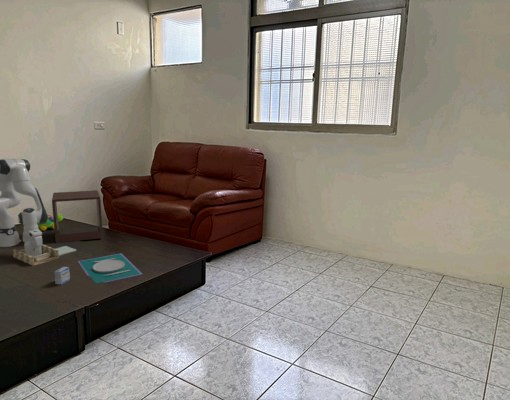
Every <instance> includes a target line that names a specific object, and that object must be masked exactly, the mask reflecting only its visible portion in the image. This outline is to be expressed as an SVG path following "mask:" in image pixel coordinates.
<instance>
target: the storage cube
mask: <svg viewBox="0 0 510 400" xmlns="http://www.w3.org/2000/svg"><path fill="white" fill-rule="evenodd" d="M90 200H96V216H97V226H94V227H93V226H91V227H82V228H71V229H61V230H60V227H59V226H60V225H59V222H58V215H57V214H58V204H57V203H58V202H59V203H60V202H61V203H62V202H73V201H74V202H75V201H90ZM51 206H52V215H53V216H52V217H53V219H54V229H53V230H54V238H55V243H59V244H60V243H67V242H68V243H69V242H76V241H77V242H78V241H85V240H87V241H88V240H96V239H103V237H104V235H103V219H102V205H101V196H100V193H99V191H98V190H97V189H95V190H83V191H82V190H80V191H63V192H62V191H60V192H53V193H52V199H51Z"/></svg>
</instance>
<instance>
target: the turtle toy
mask: <svg viewBox="0 0 510 400" xmlns="http://www.w3.org/2000/svg"><path fill="white" fill-rule="evenodd" d="M57 215H58V223H59V222H62V221H63V219H64V217H63V214H60V213H57ZM37 225H38V229H39V230H40V231H43V232H44V231H46V230H47V229H49V228H52V229H53V230H55V229H54V219H53V216H51V215H50V214H48V219H47V220H46V221H45V222H44V223H37Z"/></svg>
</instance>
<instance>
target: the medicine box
mask: <svg viewBox="0 0 510 400" xmlns="http://www.w3.org/2000/svg"><path fill="white" fill-rule="evenodd" d="M53 272H54V282H55V283H54V284H55V285H60V284H61V286H62V285H64V284H65V283H67V282H69V281H71V273H70V267H69V266H62V267H60V268H58V269H57V270H54V271H53Z"/></svg>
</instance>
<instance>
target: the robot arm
mask: <svg viewBox="0 0 510 400" xmlns="http://www.w3.org/2000/svg"><path fill="white" fill-rule="evenodd" d="M30 169H31V164H30V162H29V160H27V159H23V158H7V159H6V158H5V159H3V158H1V159H0V192H1V194H0V248H8V247H13V246H16V245H17V246H18V245H19V244H20V243H21V242H22V241H23V242H24V243H25V242H27V241H30V243H31V245H33V246H34V251H37V248H38V247H39V246H42V244H43V236H42V235H43V232H42V230H41V229H40V228H38V225H37V223H44V222H45V221H46V220H47V219H48V215H49V214H48V212H47V210H46V208H45V206H44V203H43V201H42V197H41V194H40V192H39V191H38V190H39V189H37V187H34V186H33V184H32V181H31V177H30V174H29V171H30ZM17 193H18V194H20V195H24V196H29V197H31V198H32V199H34V202H35V205H36V207H37V209H35V208H33V207H26V208H24V209H23V210H22V211H20V212H19V213H18V215H17V216H18V217H17V219H18V223H19V224H21V225H23V232H22V240H21V239H20V235H19V231H17V227H16V225H15V218H14V215H12V214H11V213H9V211H8V209H11V208H15V207H17V206H18V205H19V204H20V203H21V197H20V195H18V194H17Z"/></svg>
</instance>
